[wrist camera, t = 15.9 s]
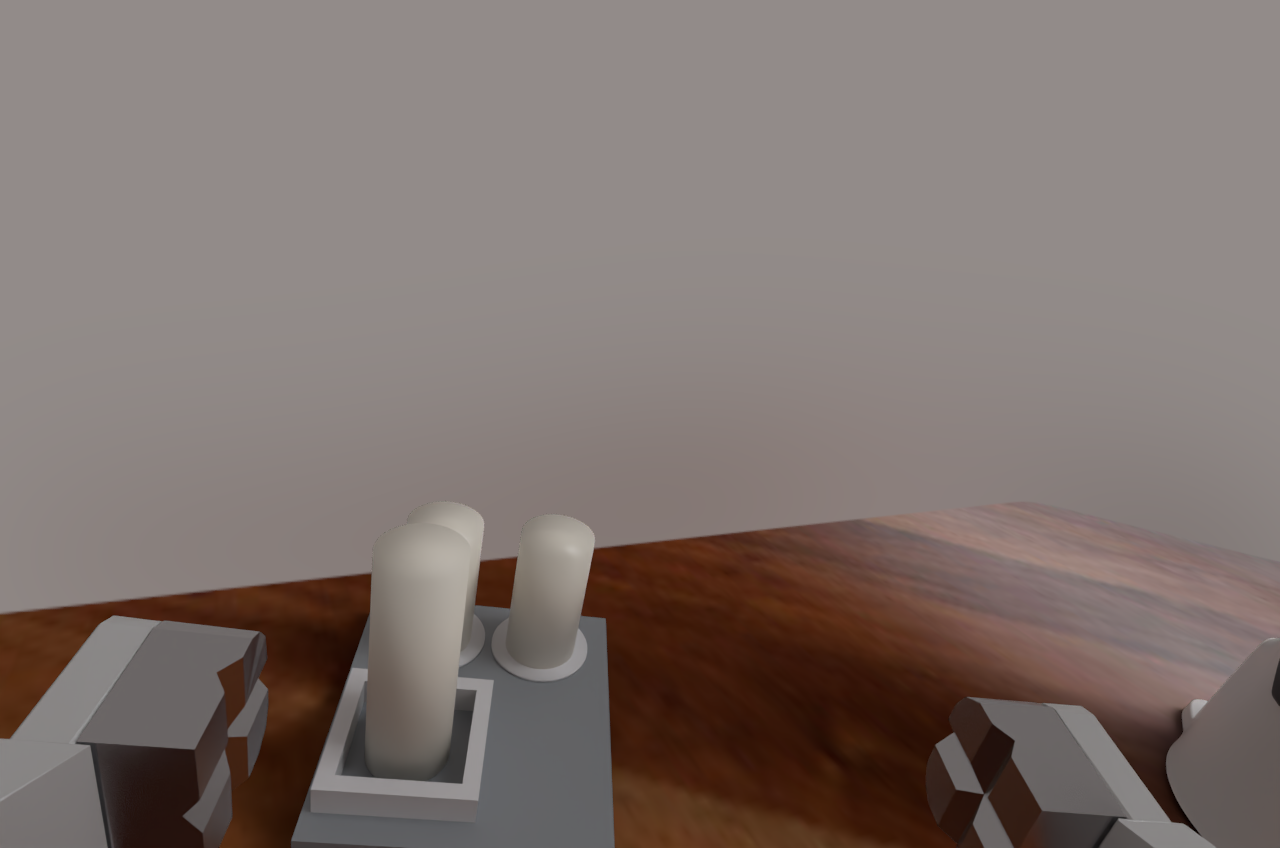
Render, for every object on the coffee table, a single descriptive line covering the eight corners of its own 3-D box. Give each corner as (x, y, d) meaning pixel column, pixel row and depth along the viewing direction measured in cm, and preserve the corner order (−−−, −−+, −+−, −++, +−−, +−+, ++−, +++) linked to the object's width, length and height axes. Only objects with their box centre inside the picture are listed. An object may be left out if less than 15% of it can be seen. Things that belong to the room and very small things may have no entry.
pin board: (601, 636, 51) (628, 513, 47) (609, 880, 37) (648, 735, 33) (374, 614, 49) (381, 483, 45) (291, 863, 35) (288, 706, 31)
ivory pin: (454, 722, 41) (475, 527, 36) (444, 788, 38) (465, 584, 33) (374, 716, 41) (383, 518, 35) (355, 783, 37) (363, 575, 32)
